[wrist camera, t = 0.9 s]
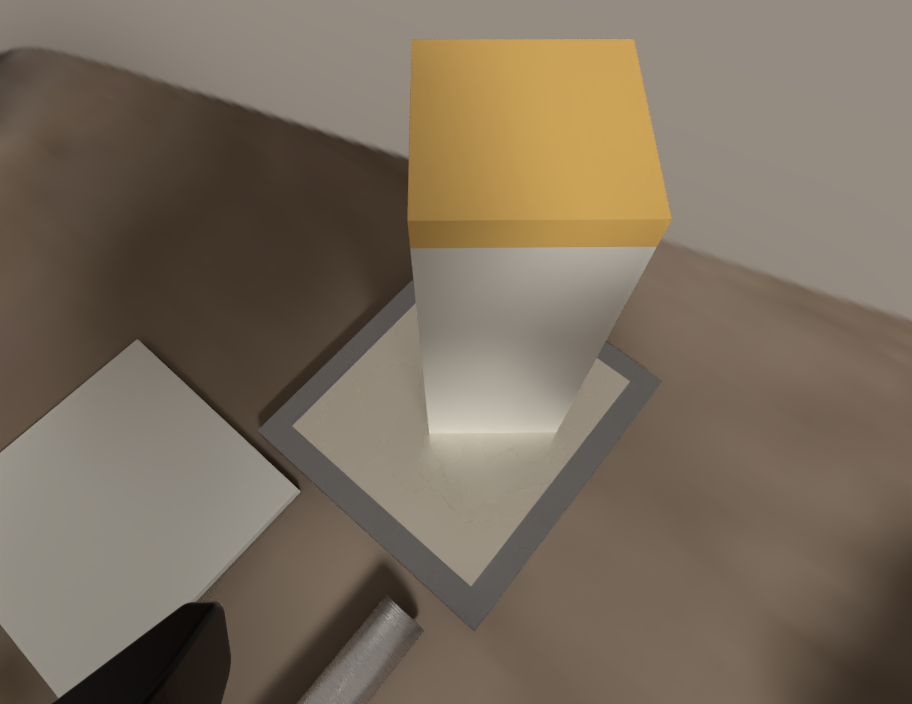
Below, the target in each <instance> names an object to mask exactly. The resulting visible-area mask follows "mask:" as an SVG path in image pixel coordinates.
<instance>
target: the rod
mask: <svg viewBox="0 0 912 704" xmlns="http://www.w3.org/2000/svg"><path fill="white" fill-rule="evenodd" d="M423 632H424V629H423V628H422V627H421V626H420V625H419V624H418V623H417V622H416V621H415V620H414V619H413V618H412V617H411V616H410V615H408V614H407V613H406V612H405V611H404V610H403V609H402V608H401V607H400V606H399V605H398V604H397V603H396V602H395V601H393V600H392V599H391V598H390V597H389V596H388V595H386V596H385V597H384V598H383V599H382V601H381V602H380V603H379V604H378V605H377V607H376V608H375V609H374V610H373V611H372V613H371V614H370V615H369V616H368V617H367V619H366V620H365V621H364V622H363V623H362V625H361V626H360V627H359V628H358V630H357V631H356V632H355V633H354V634H353V636H352V637H351V638H350V639H349V640H348V642H347V643H346V644H345V645H344V646H343V648H342V649H341V650H340V651H339V652H338V654H337V655H336V656H335V657H334V658H333V660H332V661H331V662H330V663H329V665H328V666H327V667H326V668H325V669H324V671H323V672H322V673H321V674H320V675H319V677H318V678H317V679H316V680H315V681H314V683H313V684H312V685H311V686H310V687H309V689H308V690H307V691H306V692H305V693H304V695H303V696H302V697H301V698H300V700H299V701H298V702H297V703H296V704H367V703H368V702H369V701H370V699H371V698H372V697H373V695H374V694H375V693H376V692H377V690H378V689H379V688H380V686H381V685H382V684H383V683H384V681H385V680H386V679H387V678H388V676H389V675H390V674H391V672H392V671H393V670H394V669H395V667H396V666H397V665H398V663H399V662H400V661H401V660H402V658H403V657H404V656H405V655H406V653H407V652H408V651H409V649H410V648H411V647H412V646H413V644H414V643H415V642H416V641H417V639H418V638H419V637H420V635H421V634H422V633H423Z"/></svg>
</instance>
